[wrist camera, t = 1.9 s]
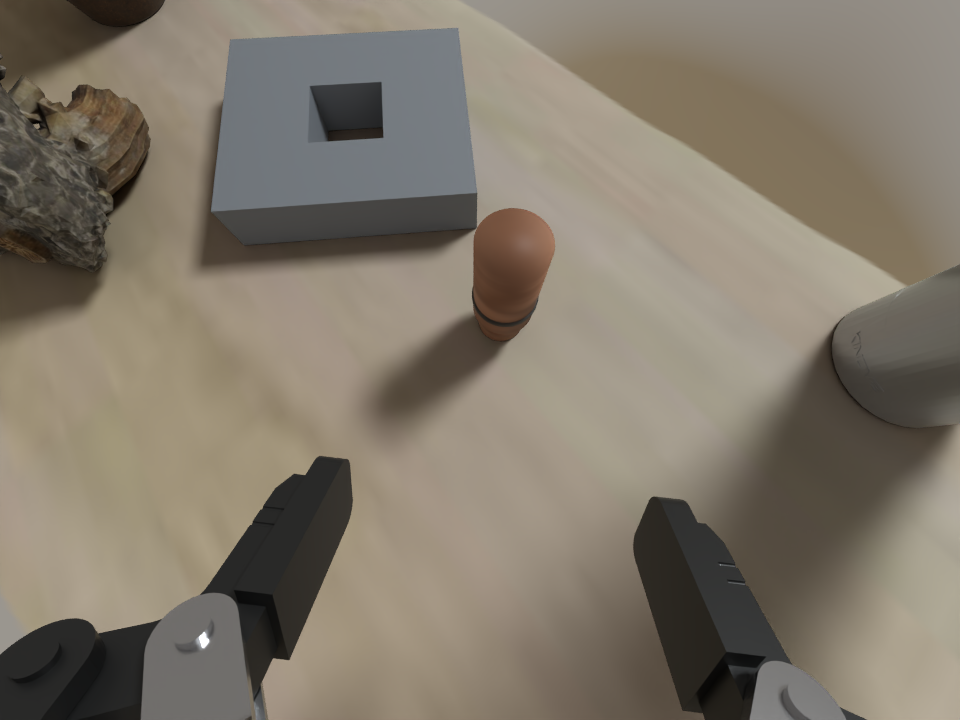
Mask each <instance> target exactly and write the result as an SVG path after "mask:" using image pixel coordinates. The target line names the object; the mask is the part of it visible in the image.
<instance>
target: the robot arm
mask: <svg viewBox="0 0 960 720" xmlns="http://www.w3.org/2000/svg"><path fill="white" fill-rule="evenodd" d="M832 357H833V361H834V365H835V368H836V371H837V373H838V375H839V377H840V379H841V381H842V383H843V385H844V386H845V387H846V389H847V390H848V392H849V393H850V394H851V395H852V396H853V397H854V398H855V399H856V400H857V401H858V403H859V404H860V405H861V406H863V407H864V408H865V409H867V410H868V411H870V412H871V413H872V414H874V415H875V416H877V417H879V418H881V419H883V420H885V421H887V422H889V423H893V424H896V425H899V426H903V427H911V428H924V427H934V426H943V425H953V424H960V264H959V265H957V266H955V267H952V268H950V269H948V270H945V271H943V272H941V273H939V274H936V275H934V276H932V277H930V278H927V279H925V280H922V281H920V282H918V283H916V284H913V285H910V286H908V287H906V288H904V289H901V290H899V291H897V292H894V293H892V294H890V295H888V296H885V297H883V298H881V299H878V300H876V301H874V302H872V303H869V304H867V305H865V306H862V307H860V308H858V309H856V310H854V311H852V312H851V313H849V314H847V315H846V316H845V317H844V318H843V319H842V320H841V322H840V323H839V324H838V326H837V328H836V330H835V332H834V336H833V341H832ZM352 503H353V498H352V485H351V472H350V463H349V460H348V459H341V458H333V457H324V456H319V457H317V458H316V459H315V461H314V462H313V464H312V465H311V467H310V469H309V470H308V472H307V473H306V475H298V474H293V475H292V476H291V477H289V478H288V479H287V480H286V481H284V482H283V483H282V484H280V485H279V486H278V487H276V488H275V490H274V491H273V493H272V494H271V495H270V497H269V498H268V500H267V501H266V503H265V504H264V506H263V509H262V510H260V511H259V513H258V514H257V516H256V517H255V519H254V520H253V523H252V525H250V526H249V527H248V529H247V530H246V532H245V533H244V535H243V536H242V537H241V539H240V540H239V542H238V543H237V545H236V546H235V548H234V549H233V550H232V552H231V553H230V555H229V556H228V558H227V559H226V561H225V562H224V564H223V565H222V566H221V568H220V569H219V571H218V572H217V574H216V575H215V577H214V578H213V579H212V581H211V582H210V584H209V585H208V586H207V588H206V589H205V590H204V591H203V592H202V593H201V594H200V595H199V596H196V597H193V598H191V599H189V600H187V601H185V602H183V603H182V604H180V605H178V606H177V607H176V608H174V609H173V610H172V611H170V612H169V613H168V614H167V615H166V616H165V617H164V618H163V619H161V620H158V621H155V622H151V623H146V624H142V625H137V626H132V627H127V628H122V629H117V630H113V631H108V632H103V633H97V631H96V630H95V628H94V627H93V625H92V624H91V623H89V622H88V621H86V620H83V619H65V620H60V621H57V622H53V623H50V624H48V625H45V626H43V627H41V628H39V629H37V630H35V631H33V632H31V633H29V634H28V635H26V636H24V637H23V638H21V639H20V640H18V641H17V642H15V643H14V644H13V645H11V646H10V647H9V648H8V649H6V650H5V651H4V652H3V653H2V654H1V655H0V720H268V715H267V709H266V702H265V696H264V690H263V683H262V681H263V678H264V676H265V674H266V672H267V670H268V668H269V665H270V663H271V661H272V659H273V658H276V659H284V660H290V657H291V655H292V653H293V650H294V648H295V646H296V643H297V641H298V639H299V636H300V634H301V632H302V629H303V627H304V625H305V622H306V620H307V618H308V615H309V613H310V611H311V608H312V606H313V604H314V601H315V599H316V597H317V594H318V592H319V590H320V587H321V585H322V583H323V580H324V578H325V576H326V573H327V571H328V569H329V566H330V564H331V562H332V559H333V557H334V555H335V553H336V550H337V548H338V546H339V543H340V541H341V539H342V536H343V534H344V532H345V529H346V527H347V525H348V522H349V519H350V515H351V511H352ZM633 548H634V556H635V561H636V564H637V567H638V570H639V573H640V577H641V580H642V583H643V586H644V589H645V592H646V596H647V599H648V602H649V605H650V608H651V612H652V615H653V618H654V621H655V624H656V627H657V631H658V634H659V637H660V640H661V643H662V647H663V650H664V653H665V656H666V659H667V662H668V666H669V669H670V672H671V675H672V678H673V682H674V685H675V688H676V691H677V694H678V697H679V701H680V704H681V707H682V710H683V711H691V712H699V713H703V715H704V718H705V720H866V719H864V718H862V717H860V716H857V715H855V714H853V713H851V712H849V711H846V710H844V709H842V708H841V707H839V706H838V704H837V703H836V702H835V700H834V699H833V698H832V696H831V695H830V694H829V693H828V692H827V691H826V690H825V689H824V688H823V687H822V686H821V684H819V683H818V682H817V681H816V680H815V679H814V678H812V677H811V676H810V675H808V674H807V673H806V672H804V671H802V670H801V669H799V668H797V667H795V666H793V665H792V664H791V662H790V660H789V659H788V657H787V656H786V654H785V652H784V650H783V648H782V647H781V645H780V643H779V641H778V639H777V638H776V636H775V634H774V632H773V630H772V629H771V627H770V625H769V623H768V621H767V620H766V618H765V616H764V614H763V612H762V611H761V609H760V607H759V605H758V603H757V602H756V600H755V598H754V596H753V594H752V593H751V591H750V589H749V587H748V586H746V585H745V580H744V578H743V576H742V575H741V573H740V571H739V569H738V568H736V567H735V562H734V560H733V558H732V557H731V555H730V553H729V551H728V549H727V548H726V546H725V544H724V542H723V541H722V540H721V539H720V538H719V537H718V536H717V535H716V534H715V533H714V532H713V531H712V530H711V529H710V528H709V527H708V526H707V525H706V524H703V523H697V521H696V519H695V517H694V515H693V513H692V511H691V509H690V507H689V505H688V504H687V503H686V502H685V501H684V500H680V499H671V498H663V497H652V498H651V499H650V500H649V502H648V505H647V507H646V509H645V512H644V514H643V516H642V519H641V521H640V523H639V526H638V528H637V531H636V533H635V536H634V544H633Z"/></svg>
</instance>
